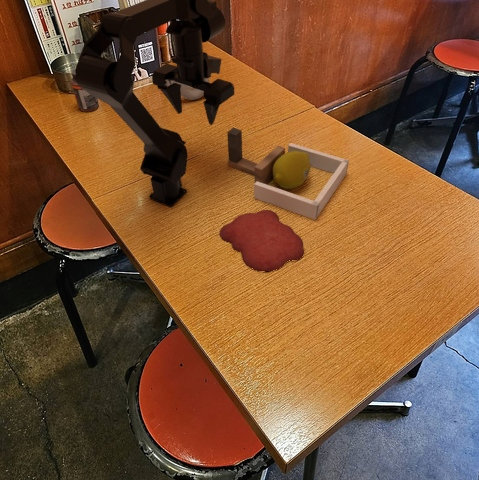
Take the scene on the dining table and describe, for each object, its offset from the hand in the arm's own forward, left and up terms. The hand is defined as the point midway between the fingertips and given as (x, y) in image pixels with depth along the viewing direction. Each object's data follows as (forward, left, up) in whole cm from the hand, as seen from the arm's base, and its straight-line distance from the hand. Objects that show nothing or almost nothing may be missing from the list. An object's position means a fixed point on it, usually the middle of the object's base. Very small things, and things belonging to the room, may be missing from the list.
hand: (195, 118), depth 104 cm
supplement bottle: (+7, +45, -13) cm, 47 cm away
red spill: (-16, -26, -14) cm, 33 cm away
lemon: (+4, -23, -13) cm, 27 cm away
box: (+4, -26, -13) cm, 29 cm away
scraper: (+4, -13, -13) cm, 18 cm away
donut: (+26, +20, -13) cm, 35 cm away
